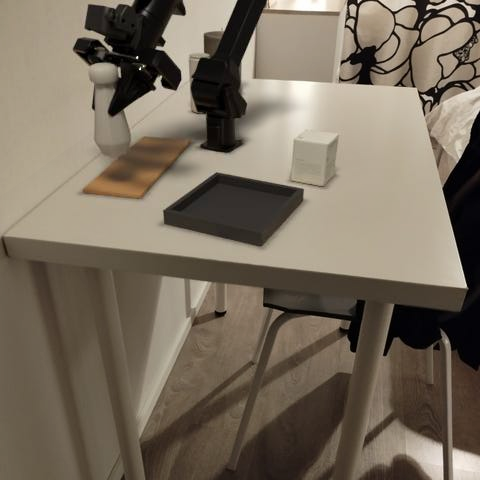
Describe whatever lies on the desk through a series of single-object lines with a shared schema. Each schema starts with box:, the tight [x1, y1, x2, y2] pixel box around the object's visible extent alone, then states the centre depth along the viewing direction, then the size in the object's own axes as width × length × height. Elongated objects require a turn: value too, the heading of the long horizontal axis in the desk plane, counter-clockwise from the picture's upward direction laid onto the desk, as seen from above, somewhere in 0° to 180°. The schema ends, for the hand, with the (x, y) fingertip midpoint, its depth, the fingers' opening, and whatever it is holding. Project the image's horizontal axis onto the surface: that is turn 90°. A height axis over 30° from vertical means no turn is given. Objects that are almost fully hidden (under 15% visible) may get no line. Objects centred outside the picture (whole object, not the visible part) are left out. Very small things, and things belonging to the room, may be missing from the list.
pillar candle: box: [203, 27, 242, 94], centre depth 132 cm, size 10×10×15 cm
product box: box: [290, 129, 340, 187], centre depth 88 cm, size 6×6×7 cm
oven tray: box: [162, 171, 305, 247], centre depth 79 cm, size 17×16×2 cm
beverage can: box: [188, 52, 210, 114], centre depth 119 cm, size 5×5×12 cm
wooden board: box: [82, 135, 191, 199], centre depth 95 cm, size 28×10×1 cm, turn 168°
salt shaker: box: [88, 63, 132, 158], centre depth 79 cm, size 6×6×13 cm
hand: (102, 112), depth 79 cm, fingers closed on salt shaker, 3 cm apart
